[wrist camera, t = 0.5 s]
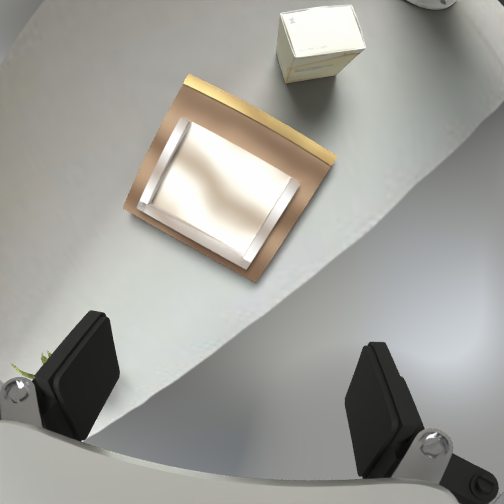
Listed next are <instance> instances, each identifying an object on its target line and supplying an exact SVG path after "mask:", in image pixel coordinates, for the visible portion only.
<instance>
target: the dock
mask: <svg viewBox="0 0 504 504" xmlns="http://www.w3.org/2000/svg"><path fill="white" fill-rule="evenodd" d="M336 159H337V156H336V155H334V154H333V153H331V152H330V151H328V150H327V149H325V148H323V147H322V146H320V145H319V144H317V143H316V142H314V141H312V140H311V139H309V138H308V137H306V136H304V135H303V134H301V133H299V132H298V131H296V130H294V129H293V128H291V127H289V126H288V125H286V124H284V123H282V122H281V121H279V120H277V119H276V118H274V117H272V116H270V115H268V114H267V113H265V112H263V111H261V110H259V109H258V108H256V107H254V106H252V105H250V104H248V103H247V102H245V101H243V100H241V99H239V98H237V97H235V96H233V95H231V94H229V93H227V92H225V91H223V90H221V89H219V88H217V87H215V86H213V85H211V84H209V83H207V82H205V81H203V80H201V79H199V78H197V77H194V76H192V75H190V74H188V76H187V77H186V79H185V81H184V83H183V86H182V87H181V89H180V91H179V93H178V94H177V96H176V98H175V100H174V102H173V103H172V105H171V107H170V109H169V111H168V113H167V115H166V116H165V118H164V120H163V122H162V124H161V126H160V128H159V130H158V132H157V134H156V136H155V138H154V140H153V142H152V144H151V146H150V148H149V150H148V152H147V154H146V156H145V159H144V161H143V163H142V165H141V167H140V169H139V171H138V174H137V176H136V178H135V180H134V183H133V185H132V187H131V190H130V192H129V194H128V197H127V199H126V201H125V204H124V206H123V209H125V210H127V211H128V212H130V213H132V214H134V215H135V216H137V217H139V218H141V219H142V220H144V221H146V222H148V223H149V224H151V225H153V226H155V227H156V228H158V229H160V230H162V231H163V232H165V233H167V234H169V235H170V236H172V237H174V238H176V239H177V240H179V241H181V242H183V243H185V244H186V245H188V246H190V247H192V248H193V249H195V250H197V251H199V252H201V253H202V254H204V255H206V256H208V257H210V258H211V259H213V260H215V261H217V262H219V263H220V264H222V265H224V266H226V267H228V268H229V269H231V270H233V271H235V272H237V273H239V274H240V275H242V276H244V277H246V278H248V279H250V280H251V281H253V282H255V283H256V282H257V281H258V279H259V278H260V276H261V275H262V273H263V272H264V270H265V269H266V267H267V265H268V264H269V262H270V261H271V259H272V258H273V256H274V255H275V253H276V252H277V250H278V249H279V247H280V246H281V244H282V242H283V241H284V239H285V238H286V236H287V235H288V233H289V232H290V230H291V229H292V227H293V225H294V224H295V222H296V221H297V219H298V218H299V216H300V215H301V213H302V211H303V210H304V208H305V207H306V205H307V204H308V202H309V200H310V199H311V197H312V196H313V194H314V193H315V191H316V189H317V188H318V186H319V185H320V183H321V182H322V180H323V178H324V177H325V175H326V174H327V172H328V171H329V169H330V167H331V166H332V165H333V163H334V162H335V160H336Z"/></svg>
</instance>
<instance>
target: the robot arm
mask: <svg viewBox="0 0 504 504" xmlns="http://www.w3.org/2000/svg"><path fill="white" fill-rule="evenodd" d="M407 1H409V2H410V3H412V4H415V5H417V6H419V7H423V8H426V9H433V10H439V9H444V8H447V7H449V6H451V5H452V4H454V3H455V2H456V0H407ZM119 375H120V370H119V365H118V360H117V356H116V351H115V346H114V341H113V335H112V330H111V324H110V319H109V318H108V317H106V315H105V313H103V312H97V311H92V310H91V311H89V312H88V313H87V314H86V315H85V316H84V317H83V319H82V320H81V321H80V322H79V323H78V324H77V325H76V327H75V328H74V329H73V330H72V331H71V332H70V333H69V335H68V336H67V337H66V338H65V339H64V340H63V342H62V343H61V344H60V345H59V346H58V348H57V349H56V350H55V351H54V352H53V354H52V355H51V356H50V357H49V358H48V360H47V361H46V362H45V363H44V364H43V366H42V367H41V368H40V369H39V371H38V372H37V373H36V374H35V378H34V379H33V381H31V380H29V379H27V378H24V377H16V378H13V379H10V380H8V381H7V382H6V383H5V384H4V385H3V386H2V388H1V390H0V504H504V492H503V493H502V494H499V493H498V489H499V487H498V482H497V480H496V478H495V477H494V475H493V474H491V473H490V472H488V471H486V470H484V469H482V468H480V467H478V466H476V465H474V464H472V463H470V462H468V461H466V460H464V459H462V458H461V457H458V456H457V455H455V454H453V443H452V441H451V439H450V437H449V436H448V435H447V434H446V433H444V432H443V431H441V430H438V429H432V428H429V429H425V428H424V426H423V423H422V421H421V418H420V416H419V413H418V411H417V408H416V406H415V403H414V401H413V399H412V396H411V394H410V391H409V389H408V387H407V384H406V382H405V380H404V378H403V377H401V376H400V375H399V372H398V370H397V368H396V365H395V363H394V361H393V358H392V356H391V354H390V352H389V349H388V347H387V345H386V343H385V342H370V343H369V344H368V346H364V347H363V349H362V352H361V355H360V358H359V361H358V364H357V367H356V370H355V372H354V375H353V378H352V381H351V383H350V386H349V389H348V392H347V394H346V397H345V408H346V413H347V418H348V423H349V428H350V433H351V439H352V444H353V450H354V455H355V461H356V467H357V472H358V475H359V476H362V477H363V479H355V480H326V481H325V480H322V481H321V480H317V481H304V480H299V481H298V480H273V479H272V480H271V479H258V478H257V479H256V478H246V477H236V476H227V475H219V474H212V473H205V472H199V471H193V470H187V469H182V468H176V467H171V466H167V465H162V464H157V463H153V462H149V461H144V460H141V459H136V458H133V457H129V456H125V455H122V454H118V453H115V452H111V451H108V450H105V449H101V448H98V447H95V446H92V445H89V444H86V443H83V442H81V441H82V440H85V439H86V438H87V436H88V434H89V432H90V431H91V429H92V427H93V425H94V423H95V421H96V419H97V417H98V415H99V413H100V412H101V410H102V408H103V406H104V404H105V402H106V400H107V399H108V397H109V395H110V393H111V391H112V389H113V388H114V386H115V384H116V382H117V380H118V378H119Z"/></svg>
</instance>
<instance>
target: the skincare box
mask: <svg viewBox="0 0 504 504" xmlns="http://www.w3.org/2000/svg"><path fill="white" fill-rule="evenodd" d="M365 48H366V45H365V42H364V38H363V35H362V32H361V29H360V26H359V23H358V19H357V17H356V14H355V11H354V9H353V6H352V5H336V6H324V7H315V8H308V9H301V10H295V11H289V12H284V13H280V20H279V30H278V40H277V49H276V53H277V57H278V61H279V64H280V68H281V71H282V74H283V78H284V81H285V83H292V82H298V81H304V80H310V79H316V78H322V77H328V76H335V75H337V74H338V73H339V72H340V71H341V70H342V69H343V68H344V67H345V66H347V65H348V64H349V63H350V62H351V61H352V60H353V59H354V58H355V57H356V56H357V55H358V54H360V53H361V52H362V51H363V50H364V49H365Z"/></svg>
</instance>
